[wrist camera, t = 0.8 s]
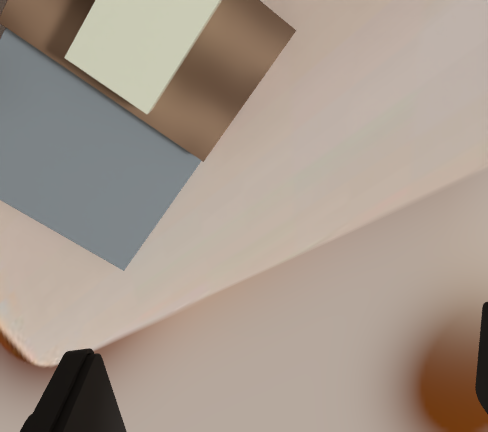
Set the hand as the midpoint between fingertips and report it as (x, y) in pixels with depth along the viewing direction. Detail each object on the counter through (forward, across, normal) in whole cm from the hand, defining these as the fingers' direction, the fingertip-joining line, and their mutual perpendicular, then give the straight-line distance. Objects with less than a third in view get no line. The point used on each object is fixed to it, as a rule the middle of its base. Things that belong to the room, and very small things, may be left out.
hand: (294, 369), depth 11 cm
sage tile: (+23, +6, -9) cm, 25 cm away
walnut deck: (+25, +6, -9) cm, 27 cm away
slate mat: (+25, +14, -1) cm, 29 cm away
